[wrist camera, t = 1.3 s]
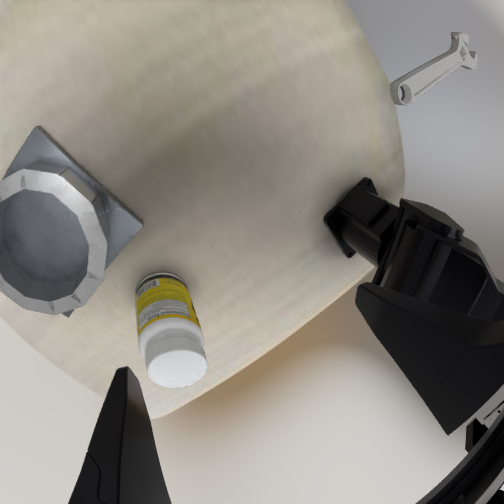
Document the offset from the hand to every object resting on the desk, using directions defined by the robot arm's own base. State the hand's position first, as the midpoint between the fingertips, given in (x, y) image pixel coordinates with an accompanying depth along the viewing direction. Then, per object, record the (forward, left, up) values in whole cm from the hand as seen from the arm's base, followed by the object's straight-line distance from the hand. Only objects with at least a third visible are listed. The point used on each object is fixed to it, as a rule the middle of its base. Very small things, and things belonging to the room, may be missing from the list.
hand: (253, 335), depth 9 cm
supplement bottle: (-4, +7, -13) cm, 15 cm away
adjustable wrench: (-5, -35, -14) cm, 38 cm away
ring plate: (+7, +8, -13) cm, 17 cm away
